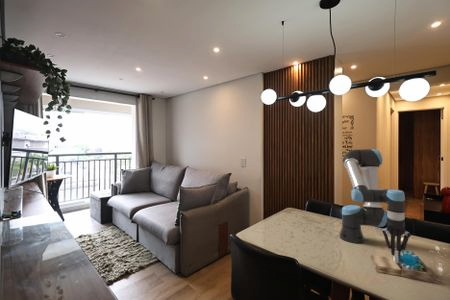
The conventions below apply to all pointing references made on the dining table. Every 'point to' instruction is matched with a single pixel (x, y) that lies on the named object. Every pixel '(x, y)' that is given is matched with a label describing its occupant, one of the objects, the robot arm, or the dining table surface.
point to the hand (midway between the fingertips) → (395, 261)
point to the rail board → (401, 268)
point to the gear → (410, 260)
